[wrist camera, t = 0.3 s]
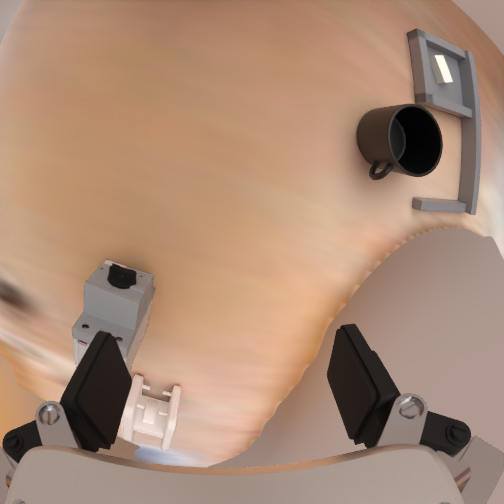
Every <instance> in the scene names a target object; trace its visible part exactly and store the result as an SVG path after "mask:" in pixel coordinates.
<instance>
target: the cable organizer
mask: <svg viewBox="0 0 504 504" xmlns="http://www.w3.org/2000/svg"><path fill="white" fill-rule="evenodd" d="M143 381H144V379H143V376H139V375H135V376H134V378H133V381H132V386H131V389H130V392H129V395H128V399H127V402H126V405H125V408H124V412H123V415H122V418H121V423H122V436H124V440H127V441H132V440H133V437H134V433H135V431H138V432H141V433H144V434H148V435H152V436H155V437H159V438H162V442H161V449H162V450H167V451H168V450H169V447H170V444H171V441H172V438H173V435H174V432H175V428H176V424H177V418H178V410H179V403H180V396H181V387H180V386H176V385H174V387H173V390H172V393H170V392H166V391H164V390H163V392H162V396H163V395H167V396H171V397H170V401H169V402H165V401H162V400H158V399H155V398H151V397H148V396H144V395H142V389H143V388H144V389H147V390H149V391H150V388H151V385H150V386H146V385H143Z"/></svg>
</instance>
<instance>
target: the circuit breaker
mask: <svg viewBox="0 0 504 504" xmlns="http://www.w3.org/2000/svg"><path fill="white" fill-rule="evenodd" d="M153 277H154V275H153V274H150V273H146V272H143V271H140V270H137V269H134V268H132V269H131V268H129V267H128V266H125V265H122V264H119V263H116V262H114V261H111V260H108V259H107V260H106V261H105V262H104V263H103V264H102V265H101V266H100V267H99V268H98V269H97V270H96V271H95V272H94V273H93V274H92V275H91V277H90V278H89V279H88V280H87V281H86V282H85V284H84V312H83V313H82V315H81V316H80V317H79V319H78V320H77V322H76V323H75V324H74V326H73V327H72V336H73V347H74V356H75V364H76V365H79V363H80V361H81V359H82V357H83V356H84V354H85V352H86V350H87V349H88V347H89V345H90V343H91V342H92V340H93V338H94V337H95V335H96V333H97V332H109V333H111V334H112V336H114V337H115V338H116V341H117V343H118V346H119V349H120V351H121V354H122V357H123V359H124V362H125V364H126V367H127V369H128V371H129V374H130V372H131V369H132V363H133V360H134V358H135V355H136V352H137V350H138V347H139V344H140V342H142V339H143V337H144V334H145V332H146V326H148V321H149V316H150V311H151V305H152V300H153V295H154V290H155V288H154V287H152V282H153ZM77 367H78V366H77ZM77 367H76V368H77Z"/></svg>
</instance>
